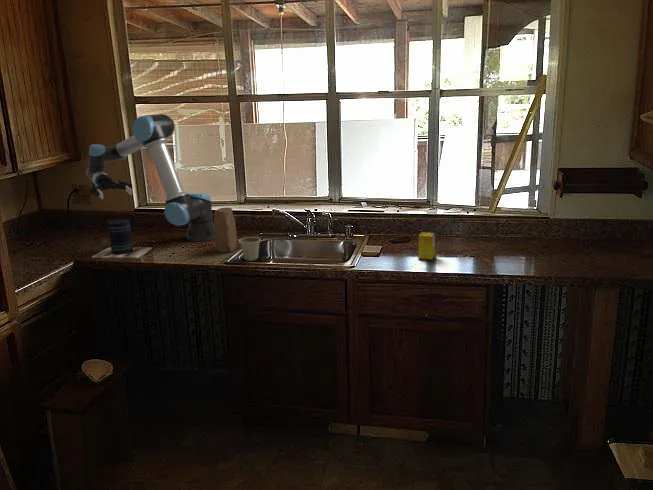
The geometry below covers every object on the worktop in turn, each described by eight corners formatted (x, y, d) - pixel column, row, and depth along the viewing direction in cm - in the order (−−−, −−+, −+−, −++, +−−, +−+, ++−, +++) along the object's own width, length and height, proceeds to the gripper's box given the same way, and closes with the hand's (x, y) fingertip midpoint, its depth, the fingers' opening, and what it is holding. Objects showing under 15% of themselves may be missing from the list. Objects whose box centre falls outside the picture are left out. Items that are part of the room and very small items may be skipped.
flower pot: (251, 262, 250) (249, 243, 248) (235, 259, 256) (234, 240, 253) (266, 257, 257) (264, 238, 255) (250, 254, 263) (249, 236, 260)
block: (229, 253, 265) (225, 211, 260) (214, 252, 267) (210, 210, 262) (239, 247, 275) (236, 206, 269) (225, 246, 277) (222, 205, 272)
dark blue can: (137, 248, 276) (133, 218, 272) (128, 254, 266) (124, 223, 262) (117, 249, 277) (113, 218, 273) (107, 254, 267) (103, 223, 263)
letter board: (152, 248, 278) (151, 247, 278) (137, 258, 262) (136, 256, 262) (109, 248, 281) (109, 247, 281) (91, 257, 265) (91, 256, 265)
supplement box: (421, 256, 251) (421, 232, 248) (434, 257, 249) (435, 232, 246) (418, 260, 246) (418, 235, 243) (432, 261, 244) (432, 236, 241)
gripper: (127, 185, 298) (143, 198, 283) (77, 191, 283) (90, 205, 268) (126, 171, 295) (142, 183, 280) (75, 176, 280) (89, 190, 265)
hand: (117, 194), depth 274 cm, fingers open, 13 cm apart
